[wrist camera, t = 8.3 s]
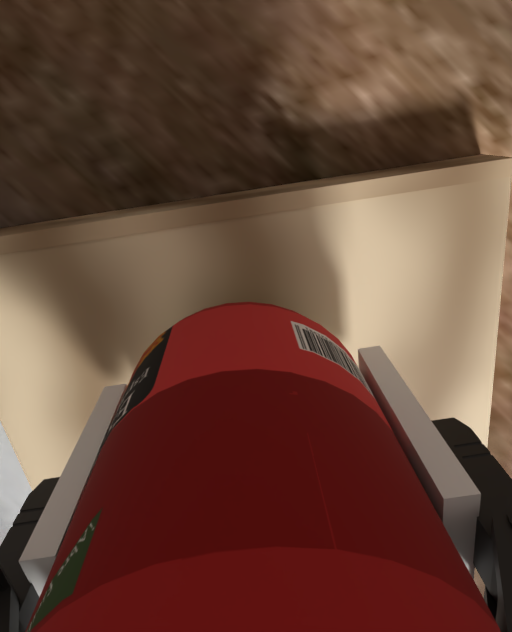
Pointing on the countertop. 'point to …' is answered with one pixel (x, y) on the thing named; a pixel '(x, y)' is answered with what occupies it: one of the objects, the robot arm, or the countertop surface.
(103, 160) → the countertop surface
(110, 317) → the cutting board
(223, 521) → the canned food
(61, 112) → the countertop surface
